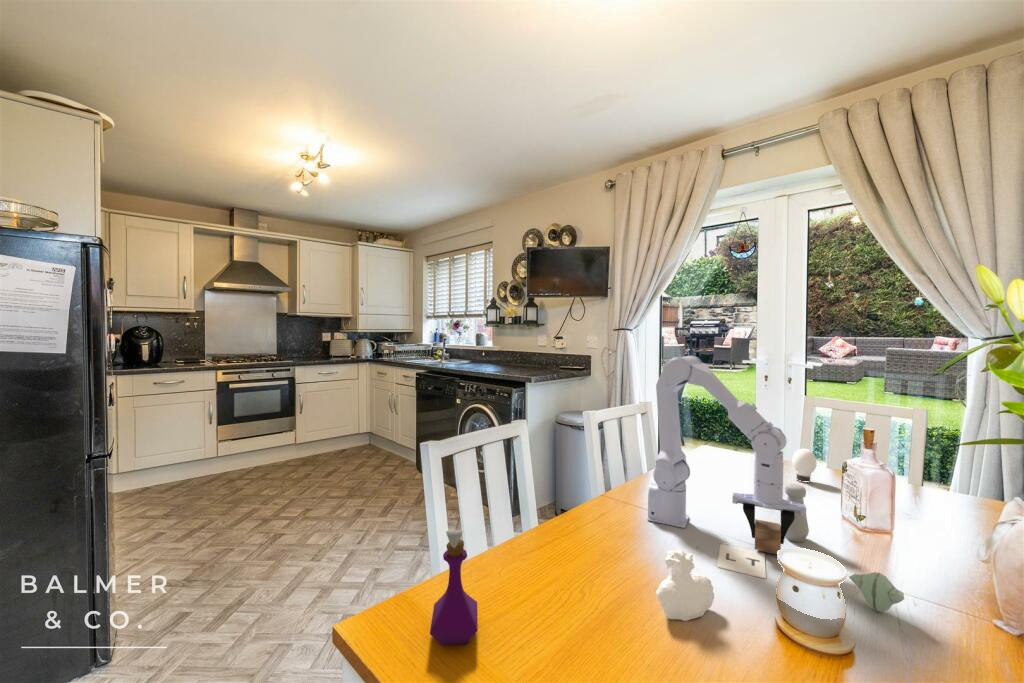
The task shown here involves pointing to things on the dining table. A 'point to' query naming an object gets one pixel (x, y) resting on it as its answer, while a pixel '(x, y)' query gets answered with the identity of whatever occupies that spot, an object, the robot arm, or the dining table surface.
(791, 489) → the salt shaker
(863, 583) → the green seashell
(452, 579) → the perfume bottle
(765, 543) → the block
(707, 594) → the bust
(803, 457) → the light bulb
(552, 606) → the dining table surface
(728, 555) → the label tile
